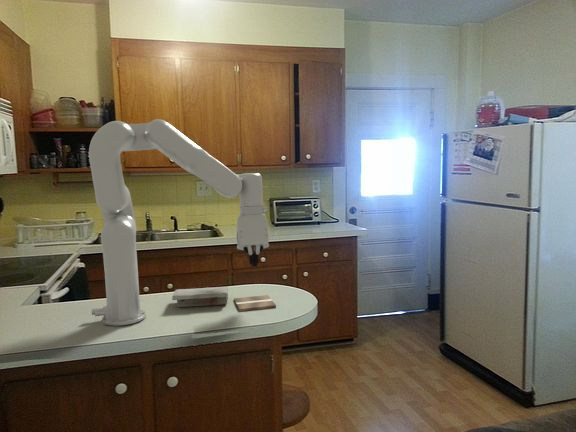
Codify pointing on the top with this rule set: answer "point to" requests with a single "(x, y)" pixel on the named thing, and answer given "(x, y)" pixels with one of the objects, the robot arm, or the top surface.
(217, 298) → the packaged product
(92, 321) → the top surface
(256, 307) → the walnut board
